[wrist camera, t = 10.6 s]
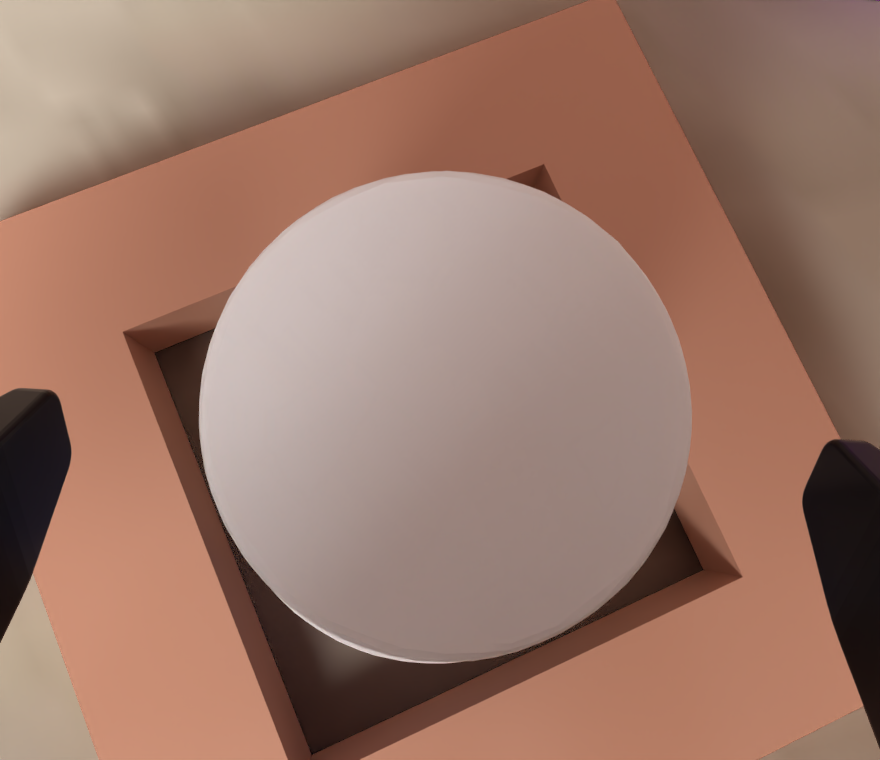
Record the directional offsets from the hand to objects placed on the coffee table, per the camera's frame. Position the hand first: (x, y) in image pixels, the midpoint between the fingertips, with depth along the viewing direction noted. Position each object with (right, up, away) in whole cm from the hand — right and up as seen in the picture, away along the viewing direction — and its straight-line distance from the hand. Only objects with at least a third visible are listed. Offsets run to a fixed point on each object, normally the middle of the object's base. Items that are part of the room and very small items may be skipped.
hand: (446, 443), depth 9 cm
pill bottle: (0, -1, +8) cm, 8 cm away
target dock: (0, -1, +8) cm, 8 cm away
